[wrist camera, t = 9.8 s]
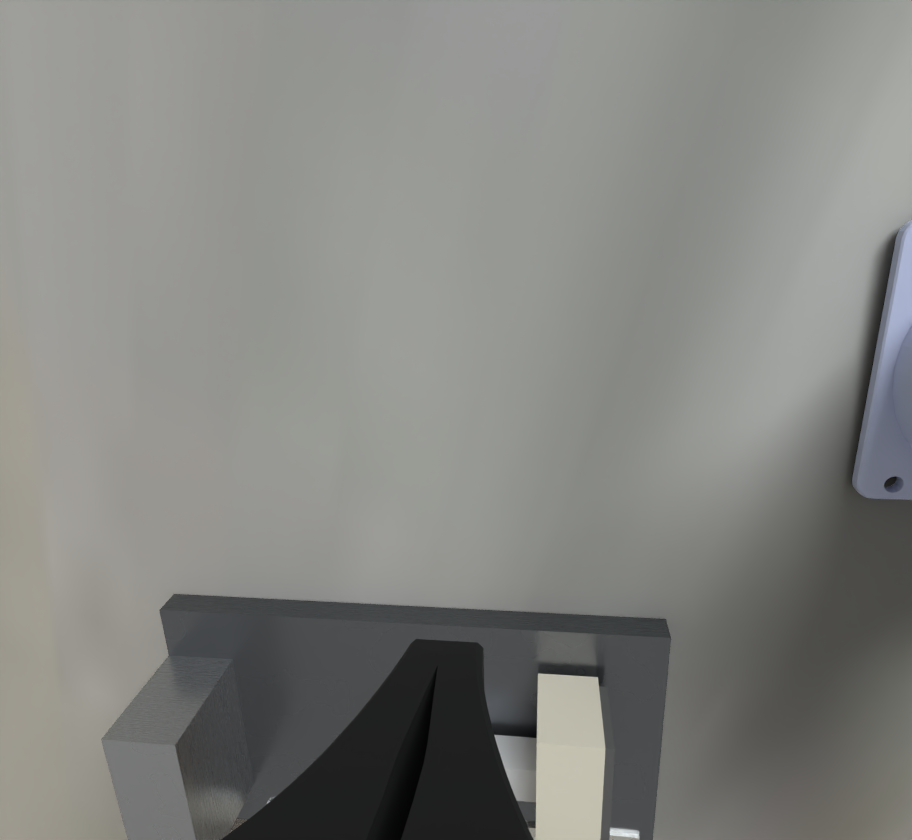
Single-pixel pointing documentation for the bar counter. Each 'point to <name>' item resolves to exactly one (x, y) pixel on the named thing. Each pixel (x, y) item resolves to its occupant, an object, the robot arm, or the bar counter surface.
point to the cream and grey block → (566, 759)
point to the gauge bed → (353, 700)
